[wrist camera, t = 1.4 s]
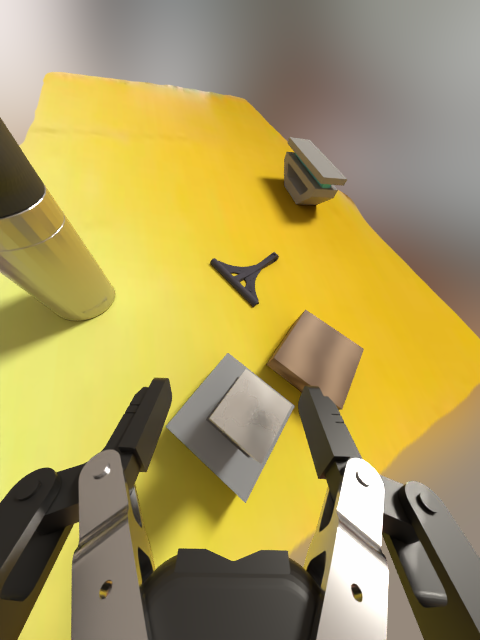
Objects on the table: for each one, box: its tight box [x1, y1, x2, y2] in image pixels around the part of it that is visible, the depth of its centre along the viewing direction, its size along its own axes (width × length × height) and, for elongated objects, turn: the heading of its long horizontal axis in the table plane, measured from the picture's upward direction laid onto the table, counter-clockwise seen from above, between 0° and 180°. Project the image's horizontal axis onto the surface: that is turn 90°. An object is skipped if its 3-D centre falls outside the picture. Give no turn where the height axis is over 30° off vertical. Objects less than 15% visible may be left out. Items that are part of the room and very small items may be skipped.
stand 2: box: [266, 310, 364, 410], centre depth 32 cm, size 12×12×4 cm
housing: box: [206, 369, 292, 464], centre depth 19 cm, size 5×5×10 cm
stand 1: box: [166, 353, 294, 503], centre depth 25 cm, size 12×12×4 cm
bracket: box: [210, 252, 279, 307], centre depth 42 cm, size 14×15×3 cm
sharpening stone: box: [284, 137, 347, 205], centre depth 60 cm, size 25×8×11 cm, turn 14°
